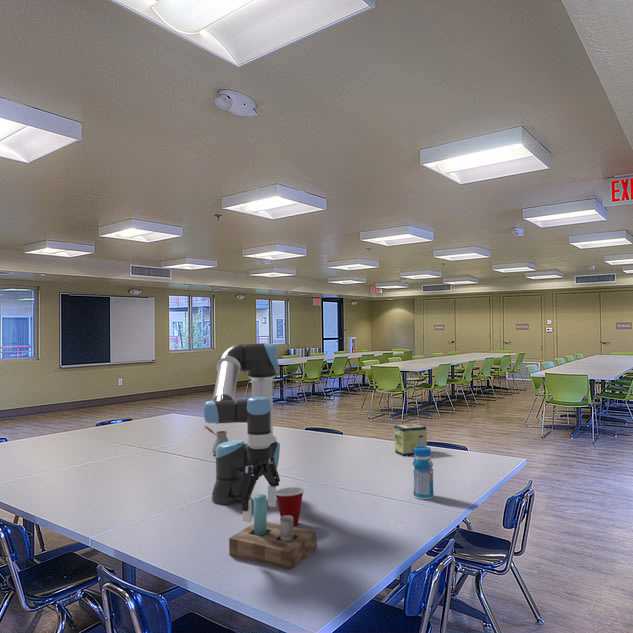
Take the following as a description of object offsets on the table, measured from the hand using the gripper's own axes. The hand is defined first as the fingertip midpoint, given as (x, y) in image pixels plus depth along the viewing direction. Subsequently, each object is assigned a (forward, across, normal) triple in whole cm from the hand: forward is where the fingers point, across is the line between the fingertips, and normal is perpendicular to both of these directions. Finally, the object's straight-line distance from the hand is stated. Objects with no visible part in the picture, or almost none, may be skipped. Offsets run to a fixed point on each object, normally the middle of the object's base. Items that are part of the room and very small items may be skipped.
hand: (260, 513), depth 151 cm
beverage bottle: (+11, -70, +33) cm, 78 cm away
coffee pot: (+13, -95, -98) cm, 137 cm away
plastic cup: (+11, -21, -2) cm, 23 cm away
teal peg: (+10, 0, 0) cm, 10 cm away
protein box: (+13, -141, +6) cm, 141 cm away
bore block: (+11, 0, +5) cm, 12 cm away
